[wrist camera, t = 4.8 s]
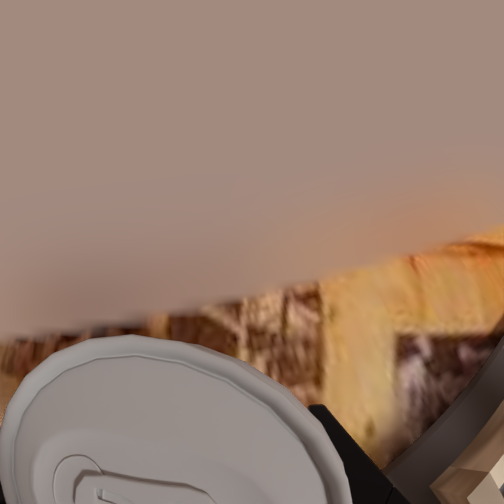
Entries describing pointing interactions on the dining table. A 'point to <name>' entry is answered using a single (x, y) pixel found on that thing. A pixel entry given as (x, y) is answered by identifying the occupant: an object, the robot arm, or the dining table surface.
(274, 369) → the dining table surface
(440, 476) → the can collar
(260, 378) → the beverage can
